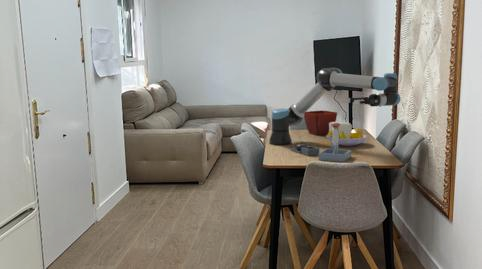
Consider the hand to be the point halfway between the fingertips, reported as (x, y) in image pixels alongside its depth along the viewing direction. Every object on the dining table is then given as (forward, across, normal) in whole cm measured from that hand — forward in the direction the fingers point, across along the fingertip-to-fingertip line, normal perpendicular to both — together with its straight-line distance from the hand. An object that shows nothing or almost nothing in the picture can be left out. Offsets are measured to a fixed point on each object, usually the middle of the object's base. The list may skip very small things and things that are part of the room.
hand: (347, 101), depth 278 cm
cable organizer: (-33, +54, -32) cm, 71 cm away
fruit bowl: (-22, +31, -32) cm, 50 cm away
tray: (+10, -4, -32) cm, 34 cm away
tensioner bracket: (+17, +19, -32) cm, 41 cm away
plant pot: (-32, +79, -32) cm, 91 cm away
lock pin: (+10, -4, -31) cm, 33 cm away
